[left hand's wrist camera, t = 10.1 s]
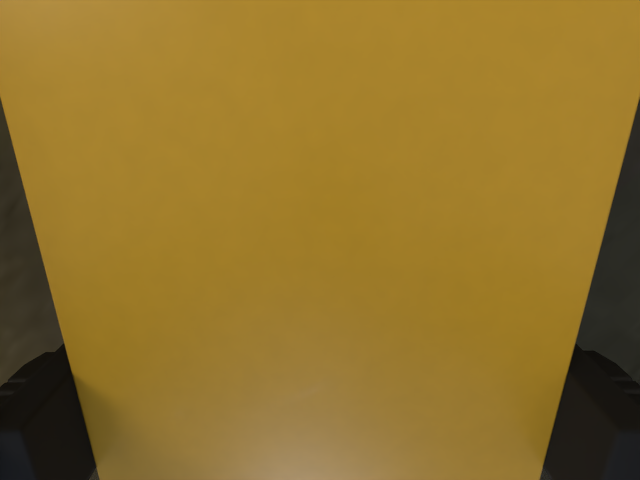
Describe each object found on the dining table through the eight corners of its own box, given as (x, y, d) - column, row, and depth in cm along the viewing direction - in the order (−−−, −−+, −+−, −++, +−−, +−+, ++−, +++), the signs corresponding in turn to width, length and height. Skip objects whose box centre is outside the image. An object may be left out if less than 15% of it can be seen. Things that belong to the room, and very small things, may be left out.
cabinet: (163, -191, 13) (-293, -1018, 3) (477, -191, 13) (933, -1014, 3) (216, 323, 20) (115, 545, 10) (423, 323, 20) (523, 546, 10)
